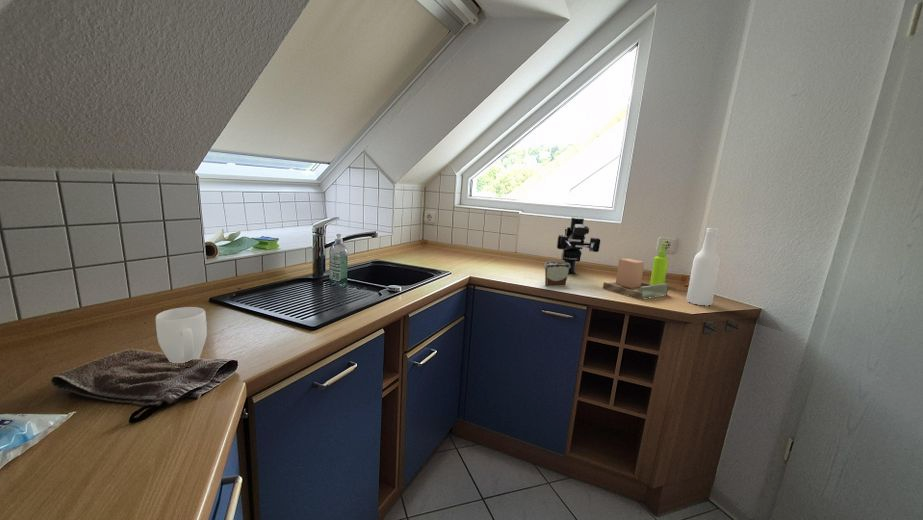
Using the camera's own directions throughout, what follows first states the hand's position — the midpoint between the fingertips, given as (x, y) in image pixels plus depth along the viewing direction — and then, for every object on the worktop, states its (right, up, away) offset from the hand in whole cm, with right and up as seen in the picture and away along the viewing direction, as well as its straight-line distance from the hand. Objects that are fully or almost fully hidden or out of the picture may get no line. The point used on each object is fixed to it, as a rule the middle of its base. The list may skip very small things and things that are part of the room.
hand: (581, 248), depth 165 cm
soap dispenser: (+39, -17, +11) cm, 44 cm away
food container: (-12, -16, +1) cm, 20 cm away
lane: (+22, -19, -3) cm, 29 cm away
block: (+20, -16, -1) cm, 26 cm away
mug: (-110, -28, -87) cm, 143 cm away
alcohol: (+42, -23, -15) cm, 50 cm away
